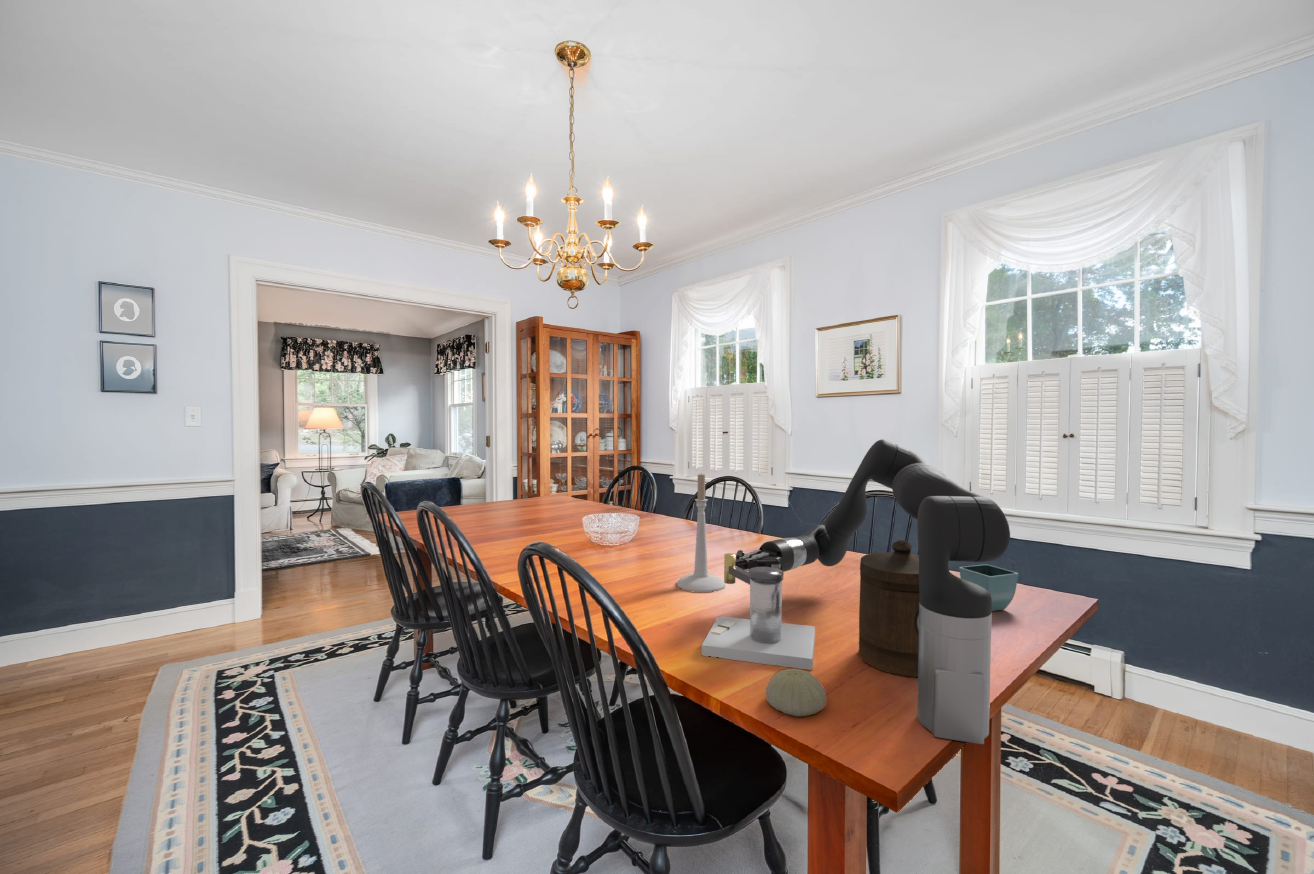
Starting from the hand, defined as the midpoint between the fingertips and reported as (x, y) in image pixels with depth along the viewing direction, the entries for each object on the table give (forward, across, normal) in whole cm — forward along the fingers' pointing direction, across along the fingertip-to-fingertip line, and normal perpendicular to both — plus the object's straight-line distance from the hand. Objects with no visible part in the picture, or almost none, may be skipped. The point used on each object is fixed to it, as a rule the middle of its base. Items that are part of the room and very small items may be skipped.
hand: (731, 567), depth 122 cm
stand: (+5, +13, +12) cm, 18 cm away
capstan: (+3, +8, +10) cm, 13 cm away
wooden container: (-11, +33, +12) cm, 37 cm away
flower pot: (-54, +31, +12) cm, 63 cm away
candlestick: (-13, -24, +12) cm, 29 cm away
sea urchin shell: (+17, +31, +12) cm, 38 cm away
